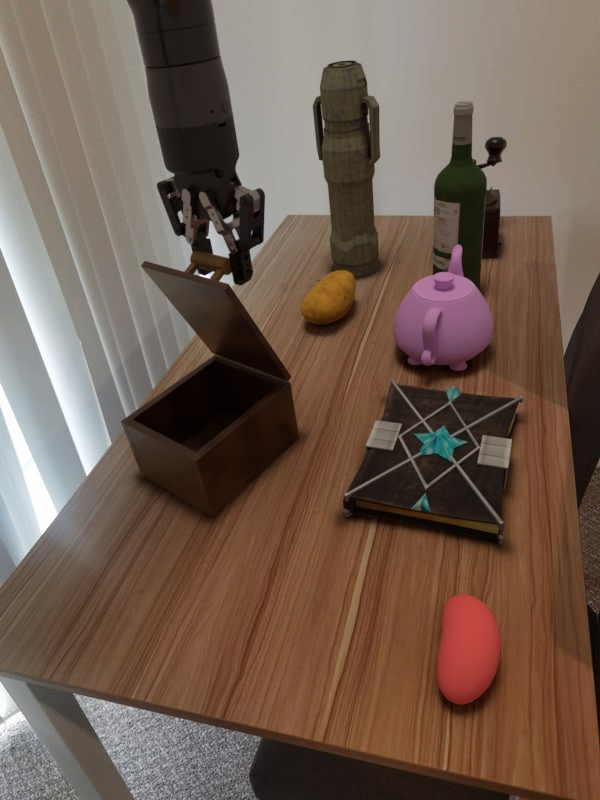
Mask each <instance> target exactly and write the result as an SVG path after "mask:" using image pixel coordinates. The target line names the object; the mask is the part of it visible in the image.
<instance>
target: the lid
mask: <svg viewBox="0 0 600 800" xmlns="http://www.w3.org/2000/svg"><path fill="white" fill-rule="evenodd" d="M189 259H190V260H189V261H190V263H189V265H188V266H187V268H186V269H185V270H184V271H183V270H180V269H175V268H172V267H169V266H164V265H162V264H157V263H154V262H150V261H147V260H144V261H143V263H142V264H141V265H140V267H141V268H142V270H143V271H144V272H145V273H146V275H148V277H149V278H150V279H151V280H152V282H153V283H154V284H155V285H156V286H157V288H158V289H159V290H160V292H161V293H162V294H163V295H164V296H165V297H166V298H167V300H168V301H169V302H170V304H171V305H172V306H173V308H174V309H176V311H177V312H178V313H179V314H180V316H181V317H182V318H183V319H184V321H185V322H186V323H187V324H188V325H189V326H190V328H191V329H192V330H193V331H194V332H195V334H196V335H197V336H198V337H199V339H200V340H201V341H202V342H203V344H204V345H205V346H206V347H207V348H208V350H209V351H210V352H211V353H212V354H213V355H218V356H220V357H223V358H226V359H229V360H231V361H234V362H237V363H239V364H242V365H245V366H247V367H250V368H253V369H255V370H258V371H261V372H264V373H266V374H269V375H272V376H274V377H277V378H280V379H282V380H285V381H288V382H290V380H291V378H292V375H291V374H290V372H289V371H288V369H287V368H286V366H285V365H284V364H283V362H282V361H281V359H280V357H279V356H278V355H277V353H276V352H275V350H274V348H273V347H272V345H271V344H270V343H269V342H268V340H267V338H266V336H265V335H264V334H263V332H262V331H261V330H260V328H259V326H258V325H257V323H256V322H255V320H254V319H253V317H252V316H251V315H250V313H249V312H248V310H247V308H246V307H245V306H244V305H243V303H242V302H241V299H240V298H239V297H238V296H237V294H236V293H235V291H234V290H233V288H232V287H231V285H230V284H229V283H227V282H223V281H221V280H222V278H223V277H224V276H229V275H231V274H232V270H231V264H230V259H229V257H227V256H222V255H218V254H215V253H213V254H210V253H206V252H202V251H198V250H197V251H194V252H193V253H191V255H190V257H189ZM198 268H202V269H205V270H209V271H213V273H212V275H211V276H210V278H208V277H204V276H203V275H198V274H195V273H196V272H197V271H198V270H197V269H198Z"/></svg>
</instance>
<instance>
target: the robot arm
mask: <svg viewBox="0 0 600 800" xmlns="http://www.w3.org/2000/svg"><path fill="white" fill-rule="evenodd" d="M126 2H127V4H128V7H129V9H130V11H131V13H132V16H133V21H134V26H135V31H136V35H137V40H138V44H139V48H140V52H141V53H140V54H141V57H142V62H143V65H144V71H145V77H146V85H147V94H148V99H149V104H150V107H151V112H152V117H153V121H154V125H155V129H156V130H155V131H156V133H157V137H158V143H159V146H160V151H161V155H162V161H163V164H164V167H165V169H166V170H167V171H168V172H169V173H171V174H174V175H173V176H171V177H168V178H166V179H164V180H161V181H159V182H157V183H156V189H157V191H158V193H159V197H160V199H161V202H162V205H163V207H164V210H165V212H166V215H167V217H168V220H169V223H170V225H171V228H172V230H173V233H174V234H175V236H177V237H181V236H182V237H184V238H185V240H186V241H185V242H187V243H188V244H189V245H190V248H191V252H192V253H193V252H194V251H197V250H198V251H202V252H206V253H210V254H214V249H213V246H212V241H211V238H208V236H209V234H210V222H212V225H213V227H214V229H215V231H216V234H217V235H220V236H222V238H223V240H224V242H225V245H226V247H227V250H228V251H229V253H228V258H229V259H230V264H231V270H232V273H231V274H232V275H231V276H232V280H233V284H234V285H236V286H240V287H241V286H243V285H245V284H246V283H248V282H250V281H251V280H252V278H253V275H254V269H253V264H252V257H251V249H253V248H255V247H257V246H258V245H261V244H263V243H264V241H265V240H264V239H265V238H264V237H265V212H266V211H265V210H266V209H265V208H266V193H265V191H264V189H262V188H259V187H258V188H256V189H249V188H247V187H245V186H243V185H242V182H241V179H240V178H239V175H238V173H237V163H238V160H239V158H240V150H239V143H238V137H237V130H236V125H235V118H234V112H233V106H232V99H231V94H230V87H229V82H228V78H227V74H226V71H225V68H224V64H223V59H222V56H221V50H220V41H219V36H218V31H217V24H216V17H215V11H214V6H213V1H212V0H126ZM179 212H181V214H182V221H181V219H180V216H179ZM230 217H232V220H230V221H228V222H226V221H225V220H226V219H228V218H230ZM233 230H235V232H236V234H237V236H238V238H237V239H236V237H235V235H234V231H233ZM192 253H191V254H192ZM196 271H197V274H199V275H200V276H203V277H204V276H207V275H210V274H211V273H212V272H213V271H209V270H205V269H202V268H198V269H197V270H196ZM213 273H214V272H213Z"/></svg>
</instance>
